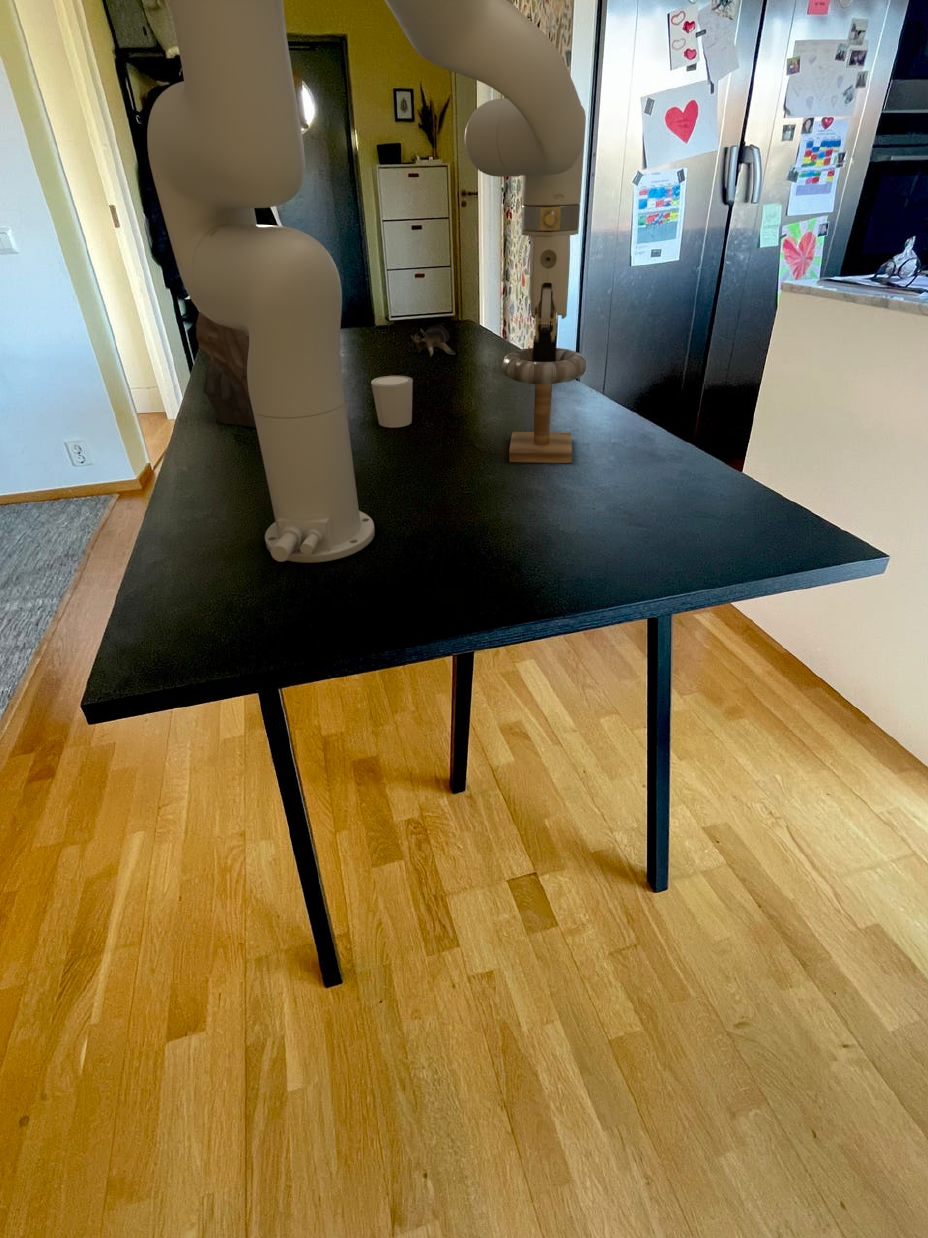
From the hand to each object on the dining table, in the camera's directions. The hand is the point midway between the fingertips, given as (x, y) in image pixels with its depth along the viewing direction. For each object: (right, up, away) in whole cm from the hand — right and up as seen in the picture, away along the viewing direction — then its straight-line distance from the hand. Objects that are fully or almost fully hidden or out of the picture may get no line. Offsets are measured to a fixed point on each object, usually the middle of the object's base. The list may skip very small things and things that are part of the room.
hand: (543, 366), depth 97 cm
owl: (-48, -2, +20) cm, 52 cm away
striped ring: (0, -1, -4) cm, 4 cm away
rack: (0, -12, +3) cm, 12 cm away
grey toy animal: (-19, +25, +57) cm, 65 cm away
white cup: (-23, -3, +16) cm, 29 cm away
